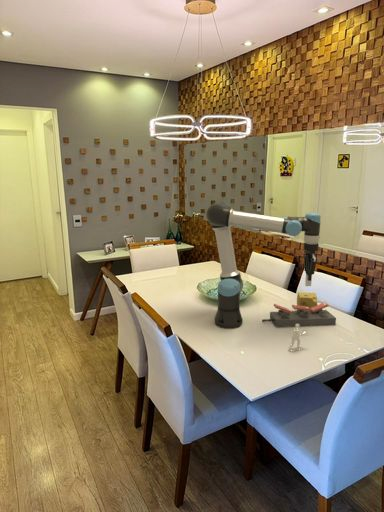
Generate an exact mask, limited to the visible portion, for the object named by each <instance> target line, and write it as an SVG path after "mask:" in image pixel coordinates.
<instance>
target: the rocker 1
mask: <svg viewBox="0 0 384 512" xmlns="http://www.w3.org/2000/svg"><path fill="white" fill-rule="evenodd" d="M273 306H274V308H275V309H277V310H281V311H282V312H284V311H285V312H288V313H291V311H292V310H291V309H289V308H287V307H285V306H281V305H279V304H276V303H273Z"/></svg>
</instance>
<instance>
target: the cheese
mask: <svg viewBox="0 0 384 512" xmlns="http://www.w3.org/2000/svg"><path fill="white" fill-rule="evenodd" d="M296 305H298V306H307V307H309V308H312V307H314V306H317V305H318V298H317V293H316V292H300V291H298V292H297V295H296ZM303 311H306V310H303Z"/></svg>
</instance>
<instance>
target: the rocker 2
mask: <svg viewBox="0 0 384 512" xmlns="http://www.w3.org/2000/svg"><path fill="white" fill-rule="evenodd" d="M291 307H292V309H293V310H296V311H297V310H301V311H303V310H306V311H310V308H309V307H307V306H298V305H297V304H291Z"/></svg>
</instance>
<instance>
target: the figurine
mask: <svg viewBox="0 0 384 512" xmlns="http://www.w3.org/2000/svg"><path fill="white" fill-rule="evenodd" d="M295 326H296V327H292V328H293V329H292V330H293V331H292V334H291V342H290V344H289V346H288V351H289V352H291V353H294V352H296V351H302V350H303V347H301V346H300V345H301V340H300V339H299V337H301V336H303V337H304V336H305V337H307V336H308V332H307V331H306V330H303V332H301V331H300V329H299V328H300V327H299V326H300V325H299V324H296V325H295ZM300 332H301V333H300ZM296 341H297V343H296V347H293V346H294V344H295V342H296Z"/></svg>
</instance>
